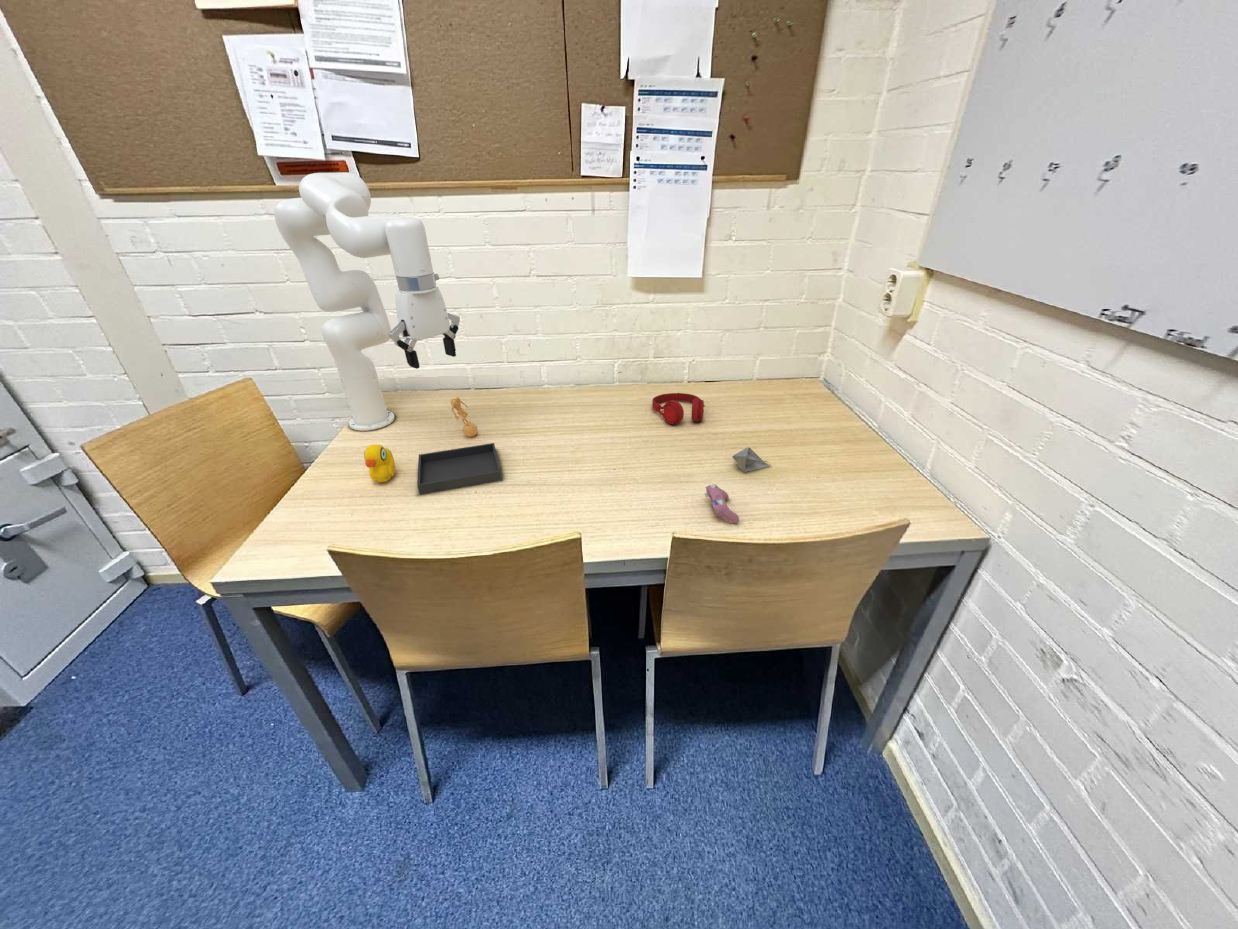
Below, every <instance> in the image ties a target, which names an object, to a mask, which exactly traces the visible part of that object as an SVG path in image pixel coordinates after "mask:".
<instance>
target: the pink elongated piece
mask: <svg viewBox="0 0 1238 929" xmlns="http://www.w3.org/2000/svg"><path fill="white" fill-rule="evenodd" d="M704 495H705V498H709V499H710V500H711V505H712V509H713V511H714V514H715V515H716V516H717V517H718V518H720V519H721V520H723V521H725V522H727V523H729V524H737V523H738V522H739V521H740V516H739V515H738V513H736V512H734V511H732V510H731V509H730V508H729V507H728V505H727V502H726V501H728V499H729V494H728V492H727V491H725V490H723V489H722V488H720V487H719V486H718V485H717V484H715V483H714V484H709V485H707V486H705V492H704Z"/></svg>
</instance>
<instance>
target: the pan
mask: <svg viewBox="0 0 1238 929" xmlns="http://www.w3.org/2000/svg"><path fill="white" fill-rule="evenodd" d="M417 459H418V461H417V462H418V463H417V483H416V486H417V489H418V494H419V495H420V496H421V495H428V494H433V493H438V492H443V491H450V490H456V489H461V488H467V487H472V486H478V485H484V484H490V483H494V482H500V481H501V482H502V481H503V476H502V471H501V467H500V462H499V458H498V453H497V448H496V445H495V442H490V443H484V444H478V445H470V446H465V447H459V448H451V449H445V450H439V451H433V452H426V453H421V454H418V458H417Z"/></svg>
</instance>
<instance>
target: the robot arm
mask: <svg viewBox="0 0 1238 929" xmlns="http://www.w3.org/2000/svg"><path fill="white" fill-rule="evenodd" d="M298 192H299V195H300V197H294V198H288V199H284V200H281V201H279V202H277V203H276V205H275V206H274V208H273V217H274V221H275V224H276V227H277V229H278V232H279V233H280V235H281V237H282V239H283V240H284V242H285V243H286V244H287V246H288V247H289V249H290V250H291V252H292V253H293V254H294V256H295V258H296V259H297V260H298V263H299V265H300V268H301V270H302V273H303V276H304V278H305V280H306V282H307V285H308V288H309V290H310V292H311V296H312V297H313V299H314V301H315V303H316V306H318V308H319V309H320V310H321V311H323V312H326V313H335V312H341V311H346V310H347V311H348V310H353V309H357V308H360V309H361V310H362V311H361V312H356V313H350V314H345V315H340V316H336V317H333V318H330V319H328V320H327V321H325V322H324V323H323V324H322V326H321V336H322V338H323V340H324V343H325V344H326V346H327V348H328V351H329V352H330V354H331V356H332V359H333V361H334V363H335V366H336V369H337V373H338V375H339V378H340V381H341V384H342V387H343V388H342V389H343V391H344V394H345V397H346V400H347V403H348V406H349V410H350V412H351V415H352V418H350V419H349V421H348V426H349V428H351V429H352V430H354V431H358V432H359V431H361V432H365V431H367V432H368V431H373V430H378V429H382V428H384V427H386V426H388V425H390V424H392V423H393V422H394V420H395V414H394V413H393V411H390V410H388V409H387V404H386V402H385V398H384V394H383V391H382V387H381V383H380V380H379V376H378V372H377V369H376V365H375V364H374V362H373V361H372V360H371V358H370V357H368V356H367V355H365V354H364V353H363V352H362V350H365V349H368V348H372V347H375V346H379V345H383V344H385V343H388V342H389V341H390V340H391V341H392V342H393V343H394V345H396V346H397V347H399V348H401V350H403V351H404V356H405V359H406V363H407V365H408V366H409V367H411V368H413V369H416V370H417V369H420V362H419V358H418V352H417V351H416V350H415V349H414V348H415V347H416V344H417V341H423V340H426V339H429V338H434V337H437V336H441V335H442V336H443V337H442V342H443V343H442V344H443V347H444V353H445V355H447V356H450V357H453V358H454V357H457V353H456V351H457V350H456V349H457V348H456V344H455V339H456V338H457V337H456V334H457V333H458V331H459V325H460V319H461V317H460V316H458V315H455V314H453V313H449V312H448V309H447V306H446V304H445V300H444V297H443V295H442V292H441V290H440V287H438V286H437V282H436V281H439V280H440V276H439V274H438V273H435V272H434V268H433V262H432V259H431V253H430V248H429V242H428V237H427V232H426V227H425V224H424V222H423V221H422V220H421V219H420V218H417V217H406V216H404V215H401V214H383V215H381V214H379V215H369V210H370V208H371V204H372V198H371V196H372V195H371V192H370V189H369V187H368V185H367V184H366V182H365V181H364V179H362V178H361V177H360V176H359V175H358V174H355V173H353V172H347V171H346V172H345V171H344V172H342V171H341V172H313V173H309V174H307V175H305V176H304V177H303V178H302V179H301V180H300V182H299V185H298ZM319 236H330V237H331V238H332V240H333V241H334V243H335V244H336V245H337V246H338V247H339V248H340V249H342V250H344V251H345V252H346V253H348V254H349V255H351V256H354V257H355V258H360V259H367V258H375V257H383V256H389V255H390V258H391V262H392V265H393V266H392V267H393V271H394V274H395V278H396V283H397V288H398V291H395V310H396V311H395V312H396V319H397V324H396V326H394V327H393V328H392V327H391V324H390V321H389V318H388V315H387V312H386V309H385V307H384V303H383V301H382V298H381V295H380V292H379V289H378V287H377V285H376V283H375V282H374V280H373V278H372V277H371V275H370V274H369V273H367V272H366V271H364V270H360V269H351V270H350V269H349V270H345V271H342V270H341V269H340V267H339V264H338V261H337V259H336V256H335V254H334V252H333V251H332V250H331V249H330V248H329V247H328V246H327V245H326V244H325V243H324V242H322V241H321V240H319V239H318V238H317V237H319ZM400 336H401V337H402V338H403V340H402V339H401V338H400Z"/></svg>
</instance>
